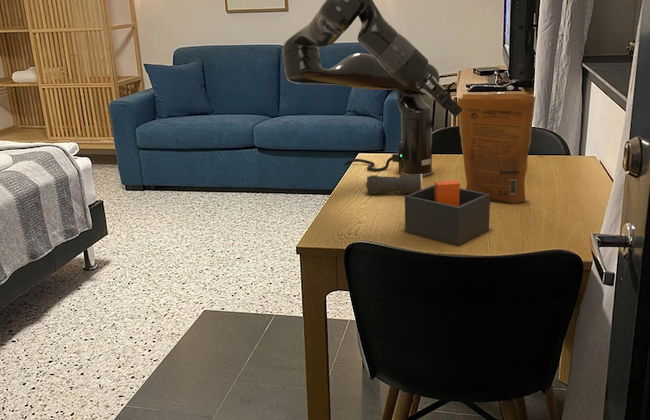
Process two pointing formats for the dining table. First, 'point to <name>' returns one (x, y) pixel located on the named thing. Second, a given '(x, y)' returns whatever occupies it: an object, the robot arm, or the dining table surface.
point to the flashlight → (394, 184)
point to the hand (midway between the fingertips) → (454, 109)
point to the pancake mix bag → (496, 143)
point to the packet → (447, 192)
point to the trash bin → (447, 216)
